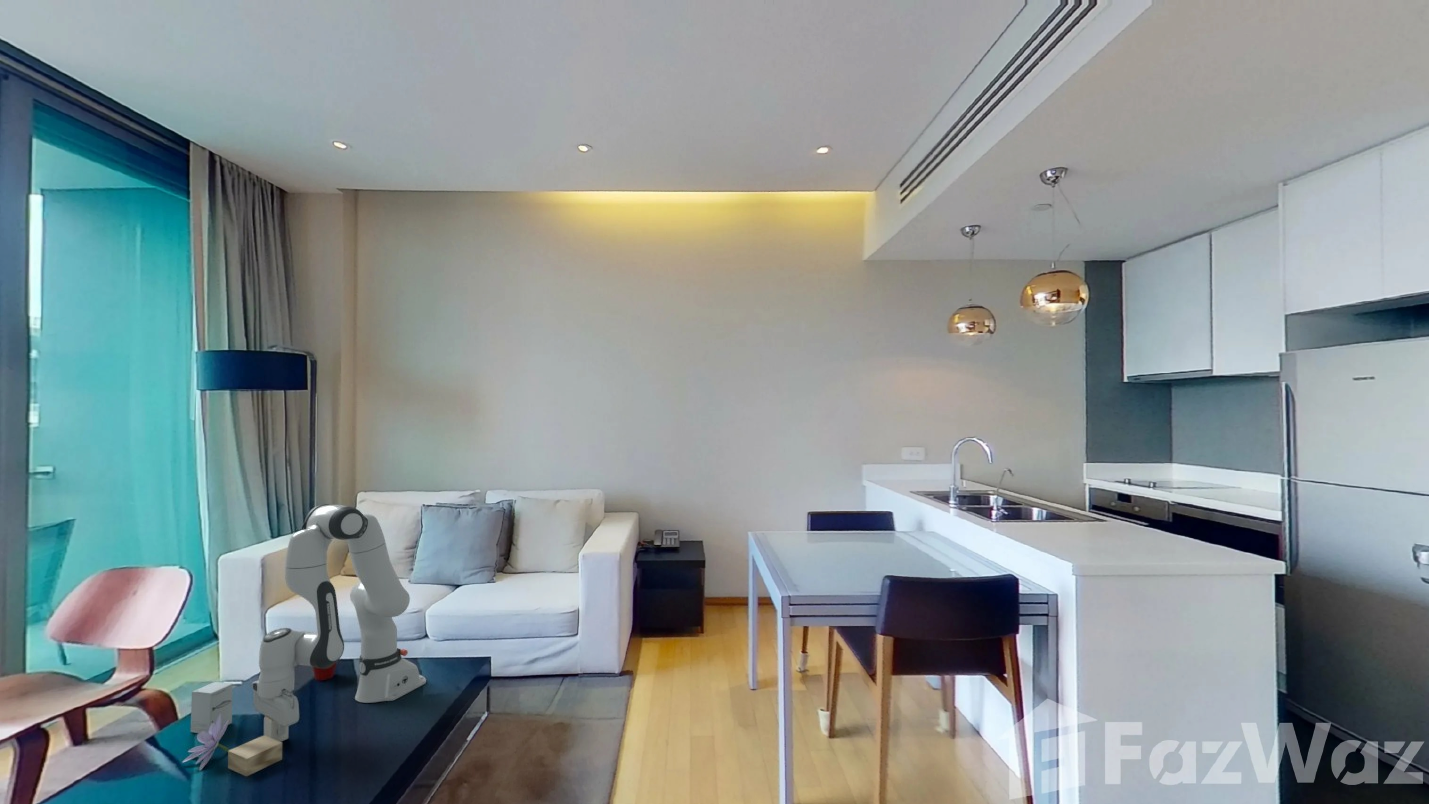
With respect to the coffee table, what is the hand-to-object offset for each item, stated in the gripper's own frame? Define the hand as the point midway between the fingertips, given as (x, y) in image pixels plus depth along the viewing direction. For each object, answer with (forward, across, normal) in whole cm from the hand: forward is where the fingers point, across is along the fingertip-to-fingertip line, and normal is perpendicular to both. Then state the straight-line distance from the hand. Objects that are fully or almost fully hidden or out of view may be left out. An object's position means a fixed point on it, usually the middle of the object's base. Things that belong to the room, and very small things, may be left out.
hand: (276, 731), depth 183 cm
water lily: (+3, +6, +15) cm, 16 cm away
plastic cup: (+2, +33, -30) cm, 45 cm away
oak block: (+3, -9, +9) cm, 13 cm away
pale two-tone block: (+2, 0, 0) cm, 2 cm away
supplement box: (+3, +25, +7) cm, 26 cm away
